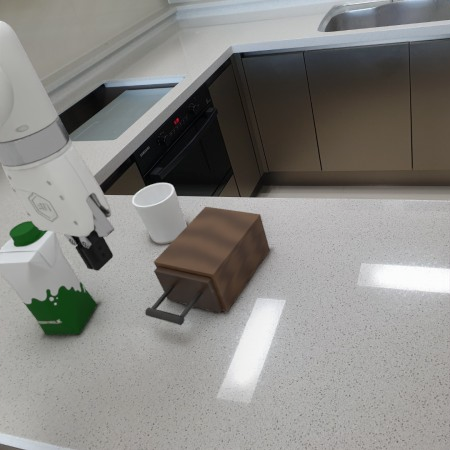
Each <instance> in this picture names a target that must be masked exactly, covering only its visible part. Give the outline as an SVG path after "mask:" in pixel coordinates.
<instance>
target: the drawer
mask: <svg viewBox="0 0 450 450" xmlns="http://www.w3.org/2000/svg"><path fill="white" fill-rule="evenodd" d="M153 272H154V274H155V276H156V278H157V281H158V282H159V284H160V286H161V288H162V291H163V293H162V294H161V295H160V296H159V298H158V299H157V300H156V301H155V303H154V304H153V305H152V306H151V307H147V308H146V309H145V312H144V314H145V316H147V317H149V318H150V317H151V318H153V319H157V320H160V321H164V322H168V323H171V324H175V325H179V326H182V325H183V324H184V322H185V318H186V316H187V315H188V313H189V312H190V311H191V310H192V308H194V307H195V308H198V309H203V310H207V311H211V312H214V313H221V311H222V309H223V306H222V304H221V301H220V299H219V296H218V294H217V291H216V288H215V286H214V283H213V281H212V278H209V277H204V276H200V275H195V274H192V273H189V272H184V271H180V270H175V269H171V268H169V269H168V268H163V267H159V266H158V267H157V268H156V267H155V269H154V270H153ZM165 299H167V300H168V301H172V302H175V303H180V304H183V305H186V307H185V308H184V309H183V310H182V311H181V313H180V315H179V314H176V313H172V312H168V311H165V310H161V309H158V308H159V307H160V305H161V304H162V303H163V302H164V301H165Z"/></svg>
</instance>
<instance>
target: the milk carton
mask: <svg viewBox="0 0 450 450" xmlns="http://www.w3.org/2000/svg"><path fill="white" fill-rule="evenodd" d="M8 233H9V236H10V238H9V239H8V240H7V241H6V242H5V243H4V244H3V246H2V247H1V248H0V277H1V279H3V280H4V281H5V282H6V283H7V284H8V285H9V286H10V288H11V289H12V290H13V292H15V294H16V295H17V297H18V298H19V300H21V301H22V303H23V304H24V305H25V307H26V308H27V309H28V311H29V312H30V313H31V315H32V316H33V317H34V318H35V320H36V322H37V323H38V325H39V327H40V328H41V330H42V332H43V333H44V335H45V336H56V335H57V336H62V335H63V336H64V335H66V336H67V335H81V333H82V331H83V330H84V328H85V326H86V325H87V323H88V322H89V320H90V318H91V317H92V315H93V313H94V311H95V310H96V308H97V307H98V303H97V302H96V300H95V299H94V298H93V296H92V295H91V294H90V293H89V291H88V290H87V289H86V287H85V286H84V284H83V283H82V281H81V280H80V278H79V276H78V275H77V273H76V272H75V270H74V268H73V267H72V266H71V264H70V262H69V261H68V259H67V257H66V256H65V254H64V252H63V250H62V247H61V245H60V241H59V239H58V236H57V233H56V232H51V231H47V230H43V229H40V228H38V227H36V226H35V225H34V224H33V223H32V221H31V220H27V221H24V222H21V223H18V224H17V225H15V226H14V227H13V228H11V229H10V231H9V232H8Z"/></svg>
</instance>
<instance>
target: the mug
mask: <svg viewBox="0 0 450 450" xmlns="http://www.w3.org/2000/svg"><path fill="white" fill-rule="evenodd" d="M131 202H132V205H133V207H134V208H135V211H136V212H137V214H138V217H139V218H140V219H141V221H142V223H143V225H144V227H145V229H146V231H147V232H148V233H147V234H149V235H150V236H149V237H150V239H151V240H152V242H154V243H155V244H158V245H167V244H171V243H172V242H173V241H174V240H175V239H176V238H177V236H178V235H179V234H180V233H181V232H182V231H183V230H184V229H185V228H186V227H187V226H188V224H187V222H186V219H185V216H184V212H183V210H182V207H181V203H180V201H179V198H178V195H177V192H176V189H175V187H174V185H173V184H171V183H168V182H156V183H153V184H150V185H147V186H145V187H143V188H141V189H139V191H137V192H136V193H134V195H133V196H132V199H131Z"/></svg>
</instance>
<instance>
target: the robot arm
mask: <svg viewBox="0 0 450 450" xmlns="http://www.w3.org/2000/svg"><path fill="white" fill-rule="evenodd" d="M72 143H73V140H72V139H71V138H70V135H69V133H68V131H67V130H66V128H65V126H64V124H63V122H62V120H61V118H60V116H59V114H58V112H57V110H56V108H55V107H54V104H53V102H52V100H51V99H50V96H49V94H48V93H47V91H46V89H45V86H44V84H43V83H42V81H41V79H40V77H39V75H38V73H37V71H36V70H35V68H34V66H33V64H32V62H31V60H30V57H29V56H28V54H27V52H26V51H25V49H24V47H23V44H22V43H21V41H20V39H19V37H18V35H17V34H16V32H15V30H14V29H13V27H12V26H11V25H10V24H8V23H7V22H5V21H3V20H0V164H1V168H2V170H3V172H4V174H5V177H6V179H7V181H8V183H9V185H10V188H11V189H12V191H13V192H14V195H15V196H16V198H17V200H18V201H19V203H20V205H21V207H22V208H23V210H24V212H25V213H26V215H27V217H28V218H29V221H32V223H33V224H34V225H35V226H36V227H38V229H39V230H42V231H45V230H47V231H51V232H55V233H56V234H61V235H63V236H64V237H65V238H66V239H67V241H68V242H69V243H70V245H72V246H75V247H74V248H75V250H76V251H77V253H78V255H79V256H80V258H81V260H82V262H83V263H84V264H85V266H86V268H87V269H89V270H94V271H97V272H98V271H100V270H101V269H102V268H103V267H104V266H105V265H106V264H107V263H108V262H109V261H110V260H111V259H113V257H114V254H113V252H112V250H111V248H110V247H109V245H108V243H107V241H106V240H105V237H106V238H107V237H108V236H109V235H110V234H111V233H113V231H115V227H114V225H113V224H112V223H111V222H110V220H109V219H108V218H110V217H111V216H112V209H111V206H110V204H109V201H108V200H107V197H106V195H105V193H104V191H103V190H102V188H101V186H100V184H99V183H98V181H97V180H96V178H95V176H94V174H93V173H92V171H91V169H90V168H89V166H88V165H87V163H86V162H85V160H84V159H83V158H82V155H80V153H79V151H78V150H77V149H76V147H75V146H74V145H73V144H72Z"/></svg>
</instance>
